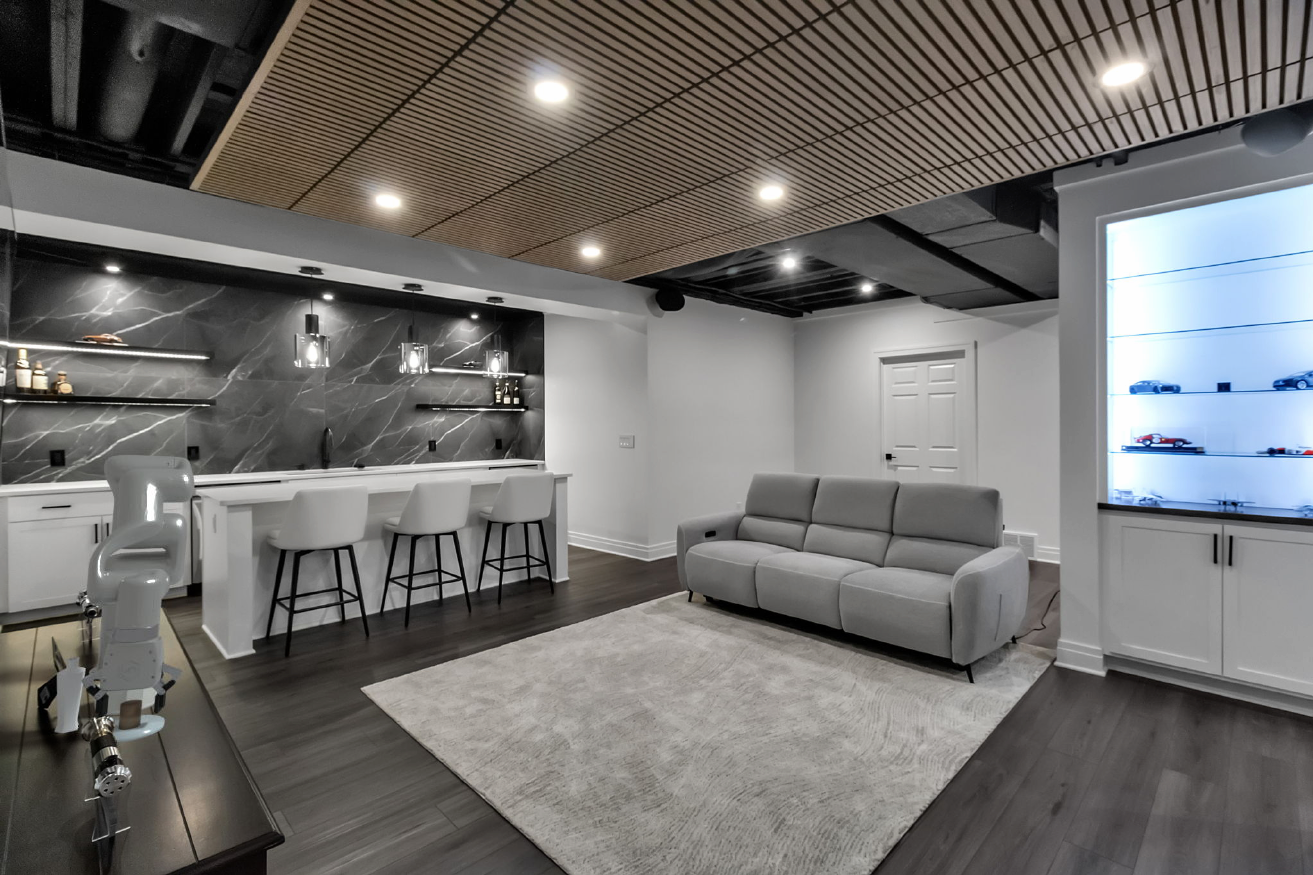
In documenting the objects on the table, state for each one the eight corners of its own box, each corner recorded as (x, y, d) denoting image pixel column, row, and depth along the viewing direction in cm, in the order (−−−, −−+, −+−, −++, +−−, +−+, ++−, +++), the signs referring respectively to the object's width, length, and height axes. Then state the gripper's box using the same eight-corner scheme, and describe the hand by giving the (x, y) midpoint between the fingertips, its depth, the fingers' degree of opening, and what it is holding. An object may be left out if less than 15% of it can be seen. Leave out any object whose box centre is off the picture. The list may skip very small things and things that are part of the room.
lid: (105, 723, 139) (107, 695, 140) (171, 717, 144) (173, 690, 144) (81, 747, 128) (83, 716, 129) (154, 740, 133) (156, 710, 133)
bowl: (106, 699, 151) (107, 676, 151) (162, 695, 155) (164, 672, 155) (86, 718, 141) (88, 693, 141) (147, 712, 145) (149, 688, 145)
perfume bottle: (87, 726, 137) (93, 657, 137) (62, 735, 132) (68, 662, 133) (73, 722, 138) (79, 653, 139) (49, 730, 134) (55, 659, 134)
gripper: (78, 641, 130) (71, 725, 129) (180, 635, 137) (174, 716, 136) (93, 631, 137) (86, 711, 136) (190, 626, 144) (184, 703, 143)
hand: (130, 713), depth 136 cm, fingers open, 9 cm apart
